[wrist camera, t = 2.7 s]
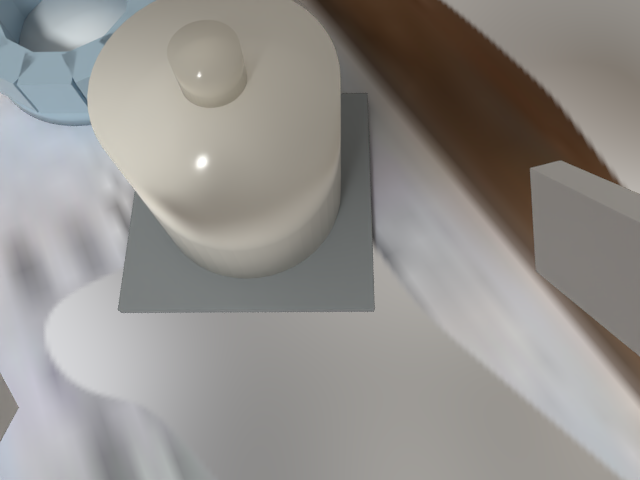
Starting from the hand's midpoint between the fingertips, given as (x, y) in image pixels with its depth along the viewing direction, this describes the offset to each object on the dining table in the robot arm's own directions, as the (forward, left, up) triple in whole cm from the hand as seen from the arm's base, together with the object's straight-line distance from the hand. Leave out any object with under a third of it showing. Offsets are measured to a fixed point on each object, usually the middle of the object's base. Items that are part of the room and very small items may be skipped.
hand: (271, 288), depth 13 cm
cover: (-3, +9, -13) cm, 16 cm away
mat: (-3, +9, -13) cm, 16 cm away
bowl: (-13, +19, -13) cm, 26 cm away
